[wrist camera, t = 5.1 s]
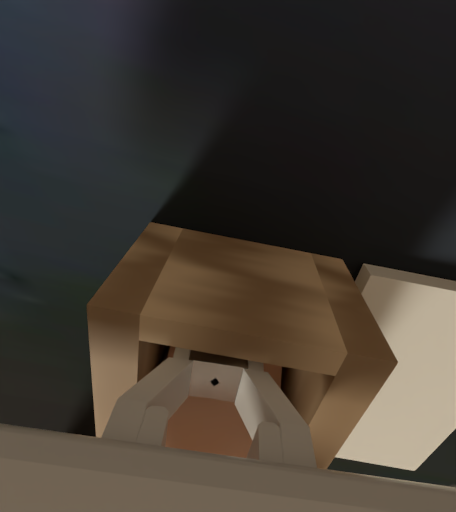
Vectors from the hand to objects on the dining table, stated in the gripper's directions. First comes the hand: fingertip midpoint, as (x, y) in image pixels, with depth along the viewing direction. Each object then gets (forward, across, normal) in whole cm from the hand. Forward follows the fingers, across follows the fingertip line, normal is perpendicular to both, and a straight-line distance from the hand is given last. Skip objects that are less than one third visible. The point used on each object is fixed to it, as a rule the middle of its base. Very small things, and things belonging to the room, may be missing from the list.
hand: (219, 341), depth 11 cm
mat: (+4, -10, +5) cm, 12 cm away
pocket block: (+4, 0, +5) cm, 7 cm away
